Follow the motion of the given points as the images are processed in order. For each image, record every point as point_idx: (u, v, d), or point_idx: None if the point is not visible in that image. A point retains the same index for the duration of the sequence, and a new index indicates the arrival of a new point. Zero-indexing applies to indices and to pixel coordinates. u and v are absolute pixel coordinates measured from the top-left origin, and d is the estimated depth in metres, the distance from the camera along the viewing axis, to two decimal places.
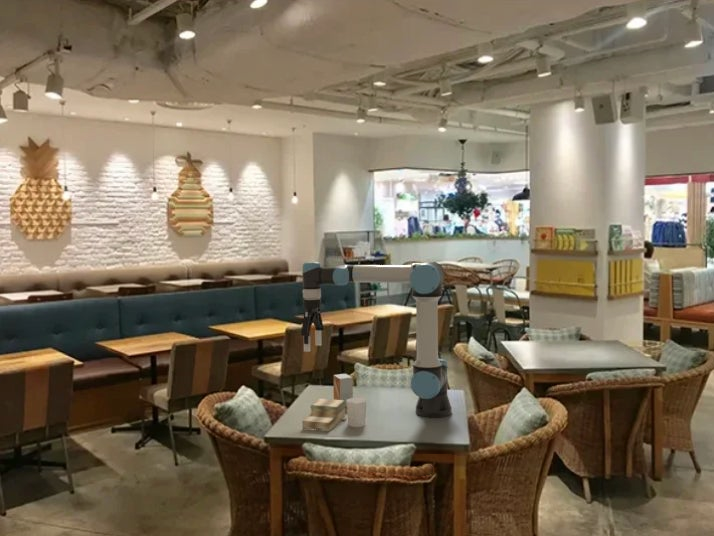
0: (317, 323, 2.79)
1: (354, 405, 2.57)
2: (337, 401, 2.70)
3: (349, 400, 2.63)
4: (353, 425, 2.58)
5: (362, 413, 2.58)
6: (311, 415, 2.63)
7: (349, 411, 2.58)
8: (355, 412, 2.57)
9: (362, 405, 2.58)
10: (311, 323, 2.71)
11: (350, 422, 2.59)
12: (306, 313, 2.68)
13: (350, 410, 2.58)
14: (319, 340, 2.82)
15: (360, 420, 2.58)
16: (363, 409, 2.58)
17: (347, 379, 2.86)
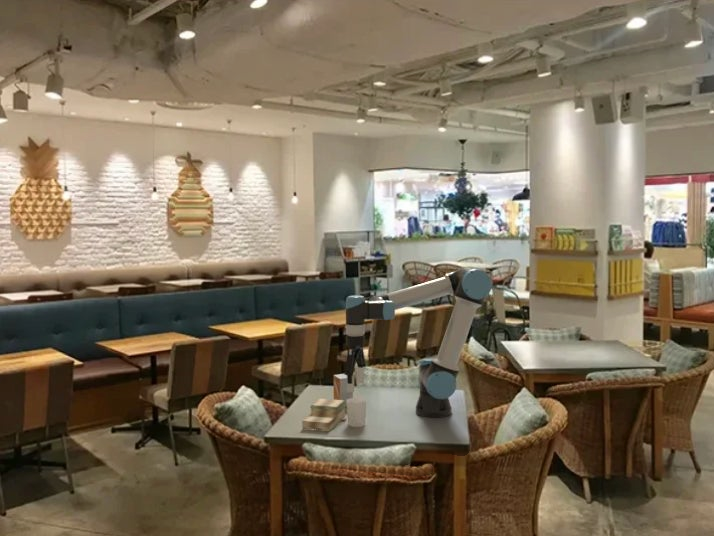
0: (360, 360, 2.64)
1: (354, 405, 2.57)
2: (337, 401, 2.70)
3: (349, 400, 2.63)
4: (353, 425, 2.58)
5: (362, 413, 2.58)
6: (311, 415, 2.63)
7: (349, 411, 2.58)
8: (355, 412, 2.57)
9: (362, 405, 2.58)
10: (355, 361, 2.55)
11: (350, 422, 2.59)
12: (350, 351, 2.53)
13: (350, 410, 2.58)
14: (361, 378, 2.66)
15: (360, 420, 2.58)
16: (363, 409, 2.58)
17: None
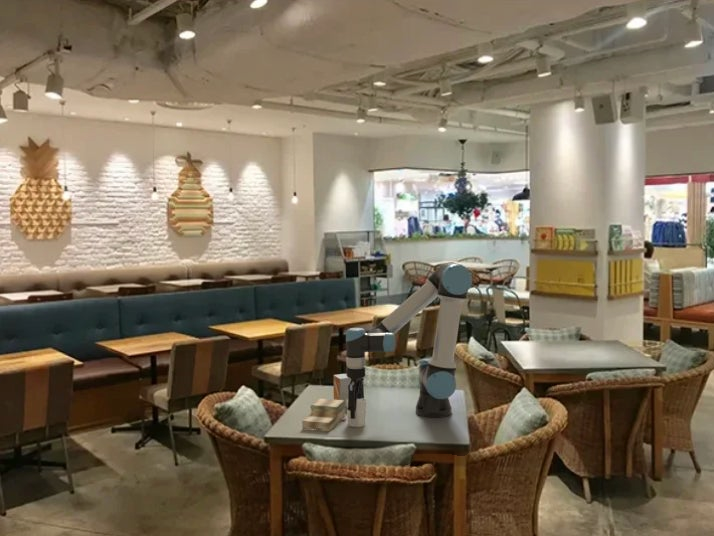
0: (359, 394, 2.63)
1: None
2: (337, 401, 2.70)
3: None
4: None
5: (362, 413, 2.58)
6: (311, 415, 2.63)
7: (349, 411, 2.58)
8: None
9: (362, 405, 2.58)
10: (356, 395, 2.57)
11: None
12: (351, 387, 2.54)
13: None
14: None
15: (360, 420, 2.58)
16: (363, 409, 2.58)
17: (347, 379, 2.86)
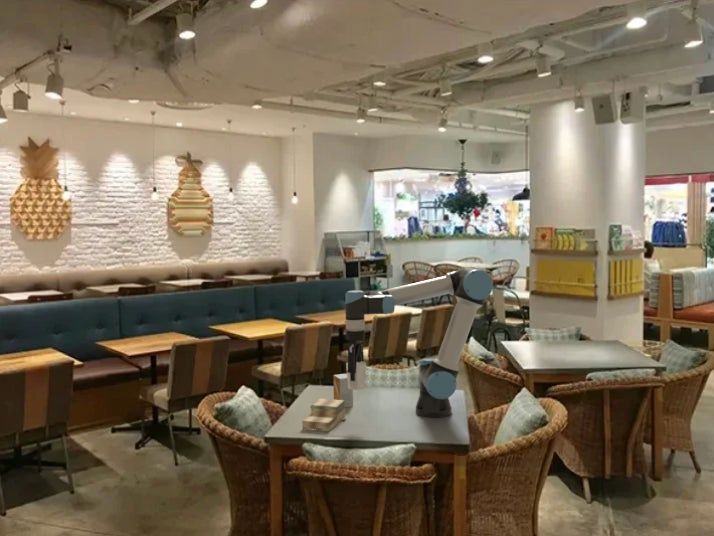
0: (359, 358, 2.62)
1: None
2: (337, 401, 2.70)
3: None
4: None
5: (362, 375, 2.57)
6: (311, 415, 2.63)
7: (349, 374, 2.57)
8: None
9: (362, 367, 2.57)
10: (356, 357, 2.56)
11: None
12: (350, 349, 2.53)
13: None
14: None
15: (360, 383, 2.57)
16: (363, 371, 2.57)
17: None
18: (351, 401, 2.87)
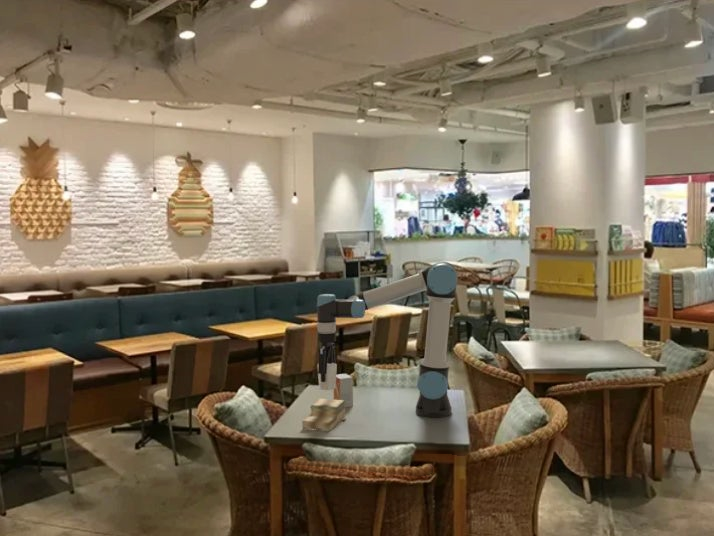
0: (330, 359, 2.70)
1: None
2: (337, 401, 2.70)
3: None
4: None
5: (332, 377, 2.65)
6: (311, 415, 2.63)
7: None
8: None
9: (332, 369, 2.65)
10: (327, 359, 2.64)
11: None
12: (321, 350, 2.60)
13: None
14: None
15: (330, 383, 2.65)
16: (333, 373, 2.65)
17: (347, 379, 2.86)
18: (351, 401, 2.87)
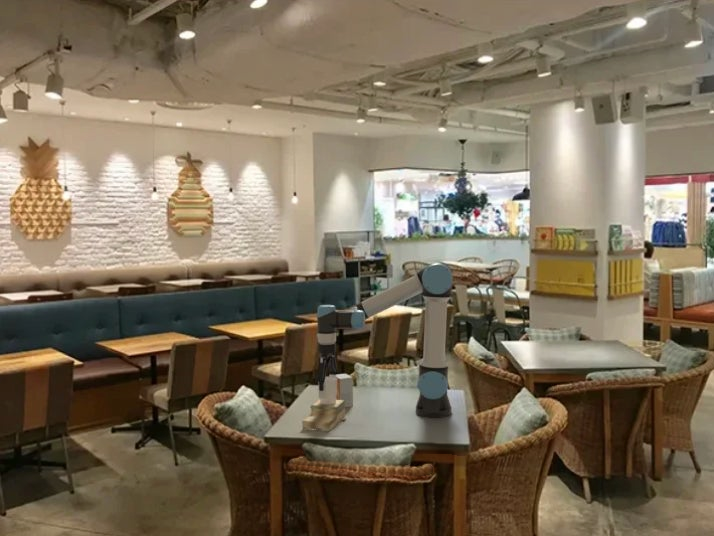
0: (332, 367, 2.72)
1: None
2: (337, 401, 2.70)
3: None
4: (324, 403, 2.65)
5: (333, 391, 2.65)
6: (311, 415, 2.63)
7: None
8: (326, 390, 2.64)
9: (333, 383, 2.65)
10: (326, 369, 2.63)
11: (321, 400, 2.66)
12: (321, 359, 2.61)
13: None
14: None
15: (331, 398, 2.65)
16: (334, 387, 2.65)
17: (347, 379, 2.86)
18: (351, 401, 2.87)
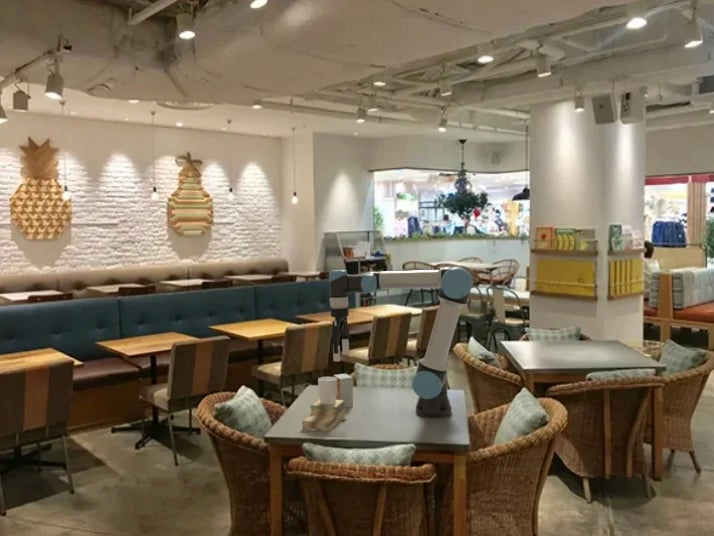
0: (344, 332, 2.75)
1: (325, 383, 2.64)
2: (337, 401, 2.70)
3: (321, 379, 2.70)
4: (324, 403, 2.65)
5: (333, 391, 2.65)
6: (311, 415, 2.63)
7: (320, 389, 2.65)
8: (326, 390, 2.64)
9: (333, 383, 2.65)
10: (340, 332, 2.66)
11: (321, 400, 2.66)
12: (335, 322, 2.64)
13: (321, 388, 2.65)
14: (347, 349, 2.77)
15: (331, 398, 2.65)
16: (334, 387, 2.65)
17: (347, 379, 2.86)
18: (351, 401, 2.87)
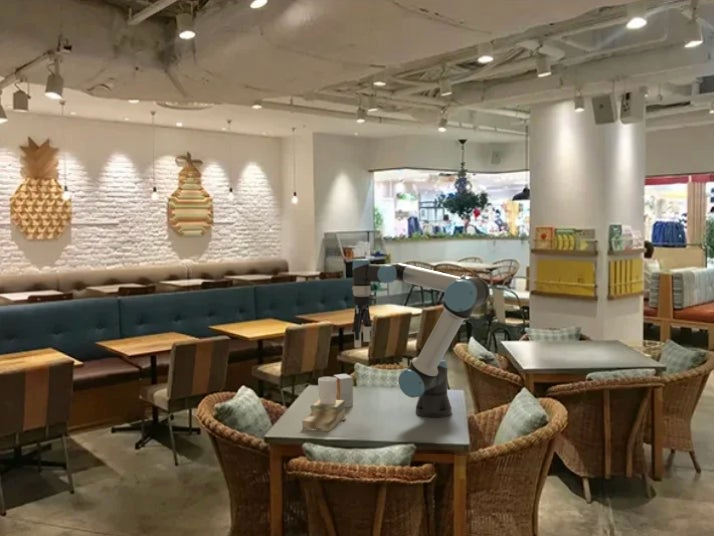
0: (366, 319, 2.83)
1: (325, 383, 2.64)
2: (337, 401, 2.70)
3: (321, 379, 2.70)
4: (324, 403, 2.65)
5: (333, 391, 2.65)
6: (311, 415, 2.63)
7: (320, 389, 2.65)
8: (326, 390, 2.64)
9: (333, 383, 2.65)
10: (361, 319, 2.74)
11: (321, 400, 2.66)
12: (357, 309, 2.72)
13: (321, 388, 2.65)
14: (367, 336, 2.85)
15: (331, 398, 2.65)
16: (334, 387, 2.65)
17: (347, 379, 2.86)
18: (351, 401, 2.87)
